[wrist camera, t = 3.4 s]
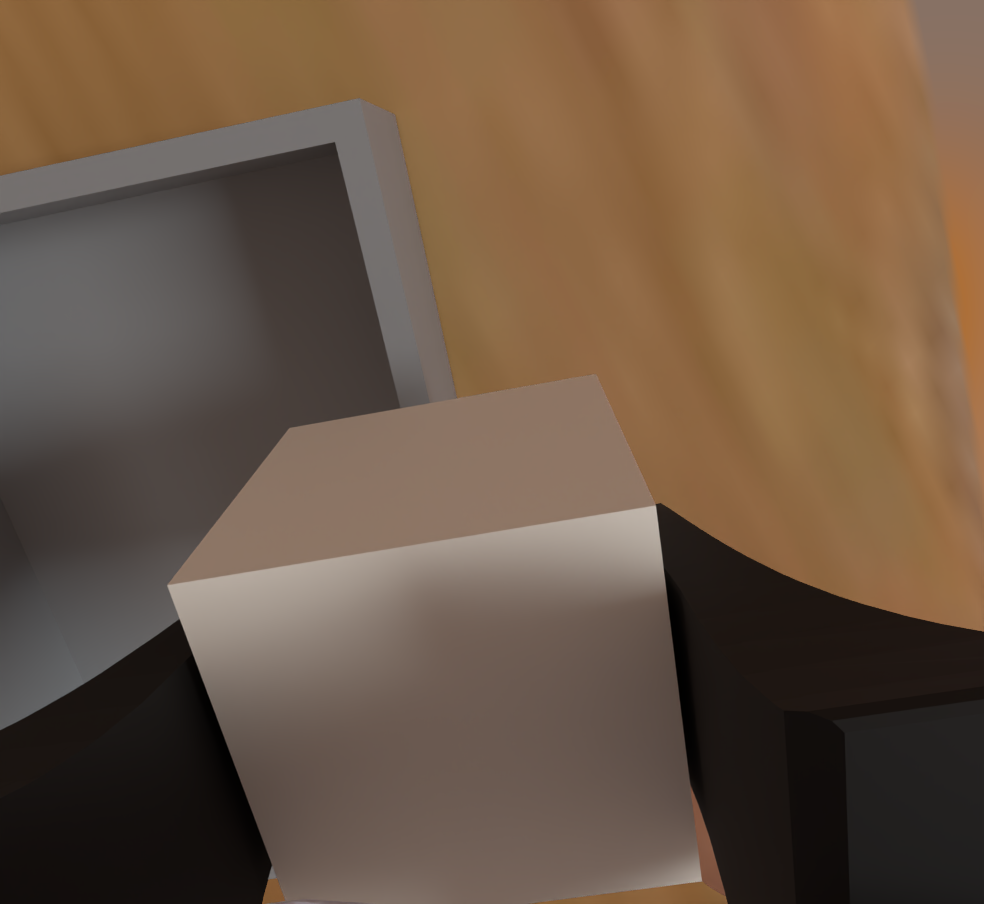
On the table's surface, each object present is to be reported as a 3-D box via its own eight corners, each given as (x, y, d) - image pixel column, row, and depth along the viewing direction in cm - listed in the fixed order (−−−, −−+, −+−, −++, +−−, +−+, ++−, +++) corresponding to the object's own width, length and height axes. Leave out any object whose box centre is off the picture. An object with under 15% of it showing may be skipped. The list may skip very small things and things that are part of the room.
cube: (634, 640, 14) (702, 881, 9) (363, 680, 14) (297, 933, 10) (596, 374, 12) (655, 505, 8) (289, 427, 13) (166, 585, 8)
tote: (525, 709, 24) (531, 841, 19) (119, 772, 25) (33, 912, 20) (394, 114, 18) (359, 98, 14) (-128, 226, 19) (-329, 247, 15)
